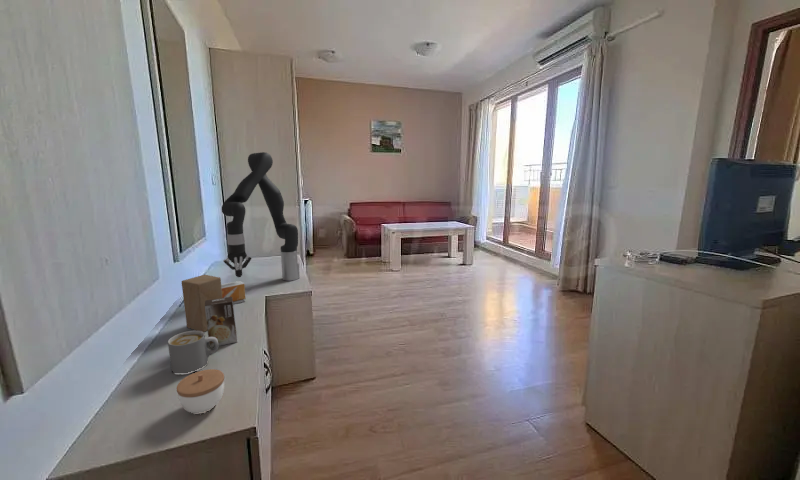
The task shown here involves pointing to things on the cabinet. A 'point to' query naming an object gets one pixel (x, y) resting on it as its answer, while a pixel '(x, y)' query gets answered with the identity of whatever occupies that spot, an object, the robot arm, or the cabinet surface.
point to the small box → (234, 290)
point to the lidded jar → (201, 390)
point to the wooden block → (199, 299)
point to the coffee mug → (190, 351)
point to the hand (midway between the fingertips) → (239, 276)
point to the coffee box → (221, 320)
